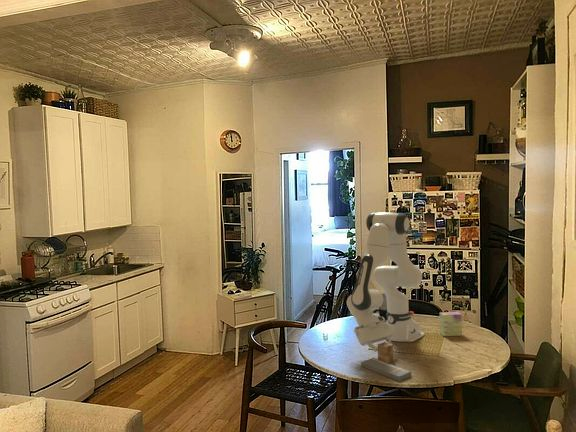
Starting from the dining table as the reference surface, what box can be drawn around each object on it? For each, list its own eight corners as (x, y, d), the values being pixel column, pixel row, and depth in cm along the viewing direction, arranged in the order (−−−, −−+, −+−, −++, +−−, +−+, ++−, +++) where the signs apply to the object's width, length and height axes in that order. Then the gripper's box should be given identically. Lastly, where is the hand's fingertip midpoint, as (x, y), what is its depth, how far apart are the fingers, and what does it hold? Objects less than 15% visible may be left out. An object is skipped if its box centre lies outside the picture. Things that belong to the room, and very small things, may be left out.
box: (457, 332, 255) (457, 311, 254) (462, 335, 249) (461, 314, 249) (439, 333, 255) (438, 312, 254) (443, 336, 249) (442, 315, 248)
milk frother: (394, 316, 291) (394, 293, 290) (393, 323, 276) (392, 299, 275) (371, 315, 295) (371, 292, 294) (369, 322, 280) (368, 298, 279)
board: (373, 362, 216) (373, 357, 216) (411, 376, 198) (411, 371, 198) (361, 366, 211) (361, 361, 211) (398, 381, 193) (398, 376, 193)
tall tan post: (385, 358, 220) (384, 342, 219) (393, 361, 216) (393, 344, 215) (378, 361, 217) (377, 344, 216) (386, 364, 213) (385, 347, 212)
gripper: (355, 324, 216) (371, 350, 208) (385, 316, 228) (401, 340, 220) (349, 331, 220) (364, 357, 212) (379, 323, 231) (394, 347, 224)
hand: (383, 348), depth 216 cm, fingers open, 8 cm apart
